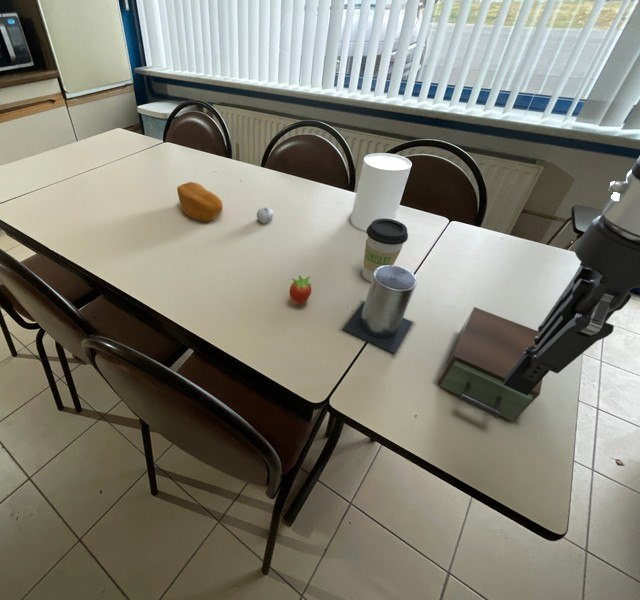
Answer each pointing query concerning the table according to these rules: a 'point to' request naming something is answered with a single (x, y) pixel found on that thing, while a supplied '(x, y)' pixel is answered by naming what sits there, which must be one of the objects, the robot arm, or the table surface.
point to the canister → (379, 188)
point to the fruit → (300, 290)
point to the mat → (385, 344)
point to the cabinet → (491, 346)
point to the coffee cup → (382, 245)
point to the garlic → (265, 215)
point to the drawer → (484, 391)
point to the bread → (199, 202)
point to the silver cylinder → (387, 301)
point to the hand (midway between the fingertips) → (516, 386)
